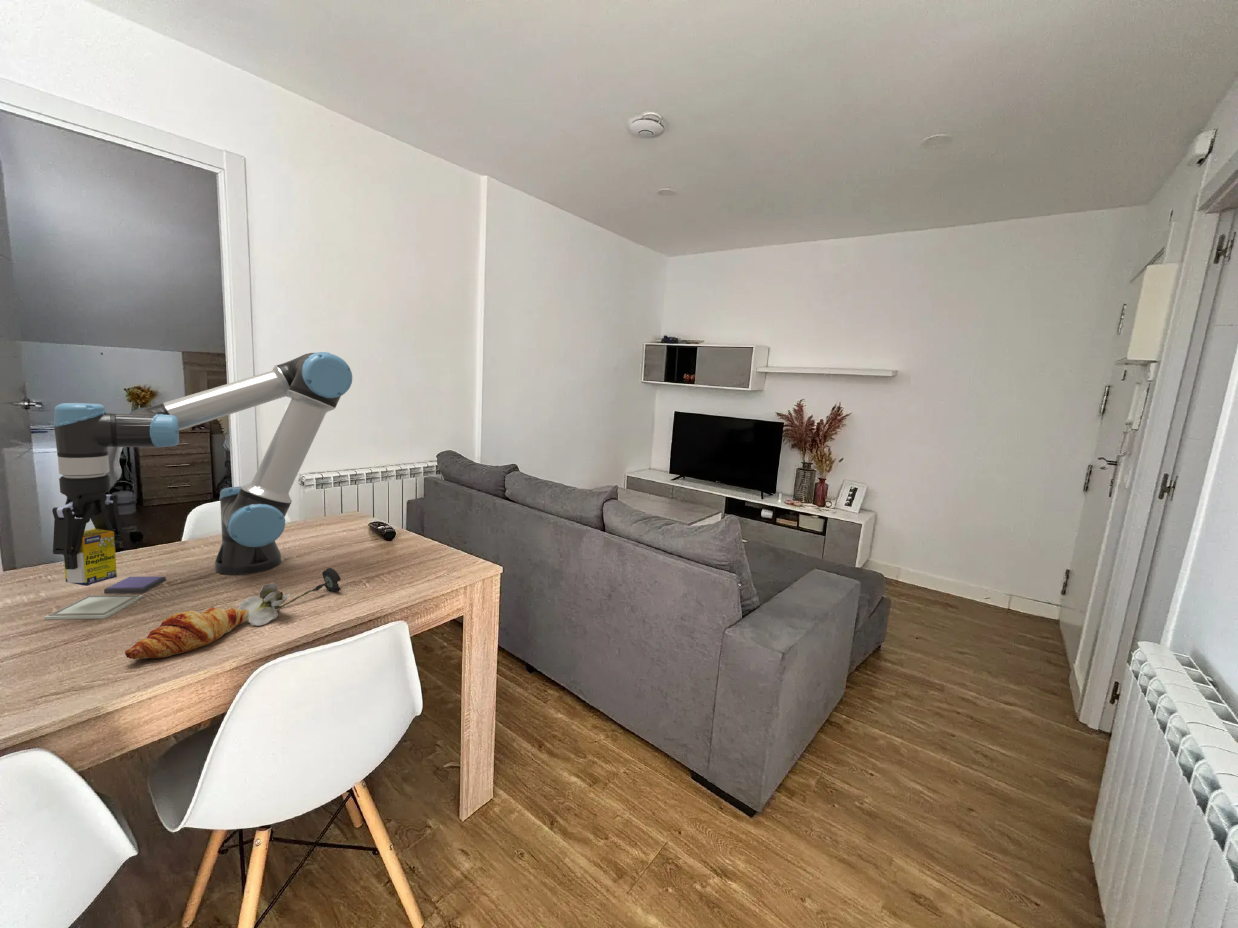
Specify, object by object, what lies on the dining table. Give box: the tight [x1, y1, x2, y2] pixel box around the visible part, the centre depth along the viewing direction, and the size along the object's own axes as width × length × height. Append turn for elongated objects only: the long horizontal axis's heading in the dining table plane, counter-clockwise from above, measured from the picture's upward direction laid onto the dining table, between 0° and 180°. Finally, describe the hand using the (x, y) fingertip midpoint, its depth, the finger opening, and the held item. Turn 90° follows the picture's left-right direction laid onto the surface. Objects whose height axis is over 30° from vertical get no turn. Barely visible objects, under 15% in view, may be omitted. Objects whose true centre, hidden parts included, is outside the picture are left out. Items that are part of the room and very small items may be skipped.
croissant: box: [124, 607, 249, 660], centre depth 102 cm, size 21×10×8 cm, turn 159°
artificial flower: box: [237, 567, 342, 627], centre depth 119 cm, size 9×22×10 cm, turn 155°
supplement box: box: [63, 527, 118, 587], centre depth 111 cm, size 6×6×11 cm
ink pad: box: [103, 576, 167, 594], centre depth 124 cm, size 8×8×1 cm
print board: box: [44, 594, 144, 620], centre depth 113 cm, size 11×11×1 cm
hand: (92, 574), depth 111 cm, fingers closed on supplement box, 7 cm apart
